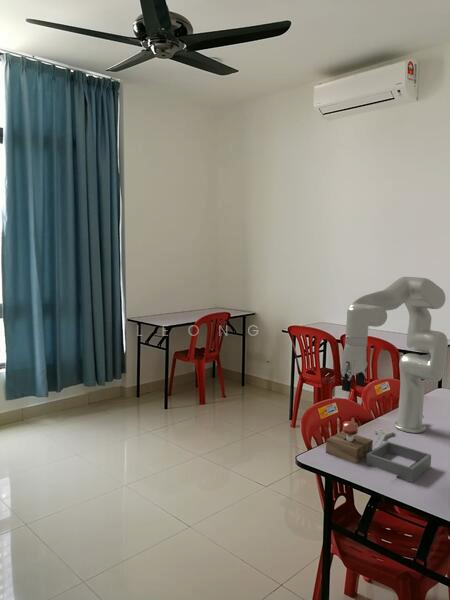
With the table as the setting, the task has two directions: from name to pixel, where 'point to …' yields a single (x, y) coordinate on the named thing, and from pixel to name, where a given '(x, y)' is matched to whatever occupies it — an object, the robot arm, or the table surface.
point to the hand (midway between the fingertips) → (353, 388)
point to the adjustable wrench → (382, 434)
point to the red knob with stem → (350, 430)
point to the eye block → (349, 447)
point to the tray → (401, 470)
